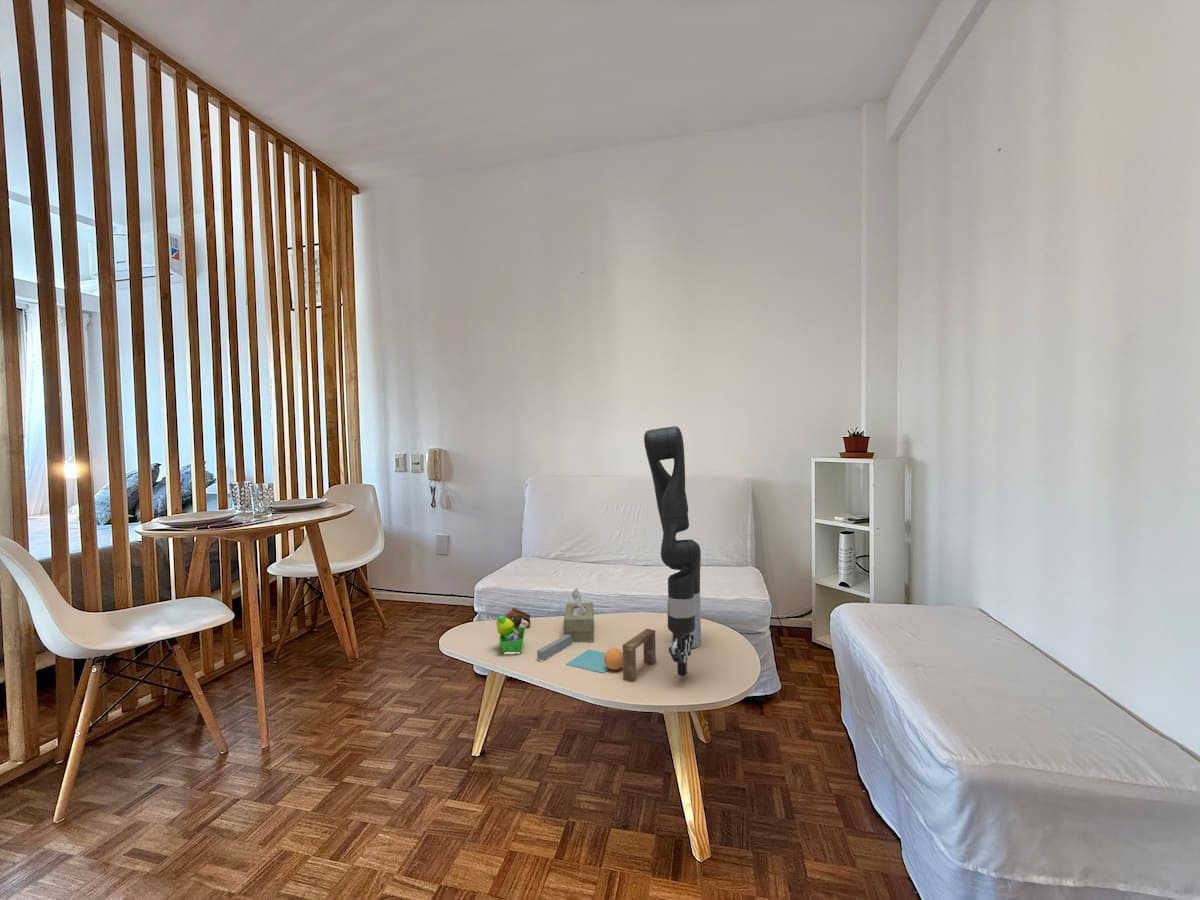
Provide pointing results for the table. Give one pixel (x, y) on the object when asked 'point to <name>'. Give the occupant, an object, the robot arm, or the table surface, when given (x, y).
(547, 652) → the stopper wall
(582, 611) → the tissue box
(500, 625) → the fruit basket
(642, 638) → the bridge
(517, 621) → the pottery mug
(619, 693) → the table surface
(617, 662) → the orange ball
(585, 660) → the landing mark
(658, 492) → the robot arm
